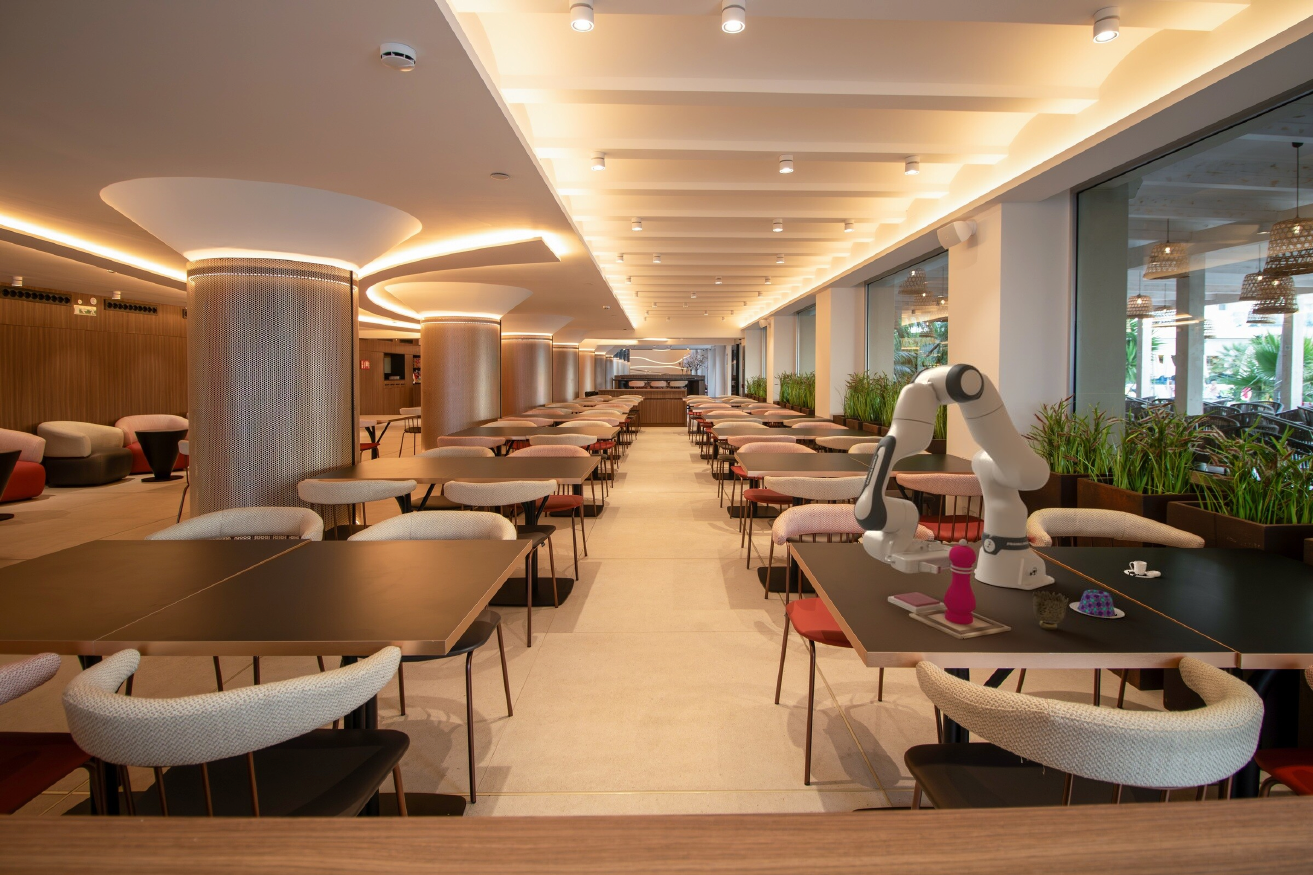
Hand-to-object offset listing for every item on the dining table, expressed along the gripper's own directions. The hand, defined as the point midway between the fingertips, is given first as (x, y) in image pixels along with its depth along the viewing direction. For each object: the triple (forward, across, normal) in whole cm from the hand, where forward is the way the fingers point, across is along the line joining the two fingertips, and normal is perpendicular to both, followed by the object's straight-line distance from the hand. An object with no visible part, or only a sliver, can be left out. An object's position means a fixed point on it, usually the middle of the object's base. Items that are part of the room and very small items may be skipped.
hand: (953, 568), depth 168 cm
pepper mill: (+2, 0, +12) cm, 13 cm away
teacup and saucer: (-7, +86, +13) cm, 88 cm away
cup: (+13, +18, +13) cm, 26 cm away
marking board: (+3, 0, +13) cm, 13 cm away
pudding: (+9, +41, +13) cm, 44 cm away
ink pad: (-11, 0, +13) cm, 17 cm away
